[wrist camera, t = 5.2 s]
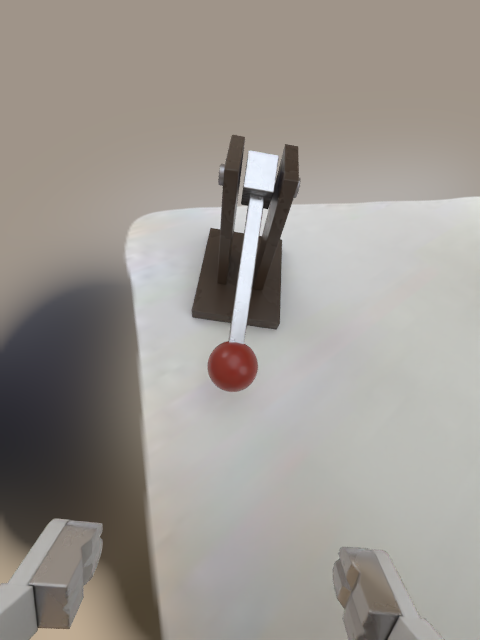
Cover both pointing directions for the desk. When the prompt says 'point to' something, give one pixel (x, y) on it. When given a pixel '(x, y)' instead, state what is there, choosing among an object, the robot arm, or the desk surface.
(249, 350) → the tap lever
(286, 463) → the desk surface
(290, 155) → the block
